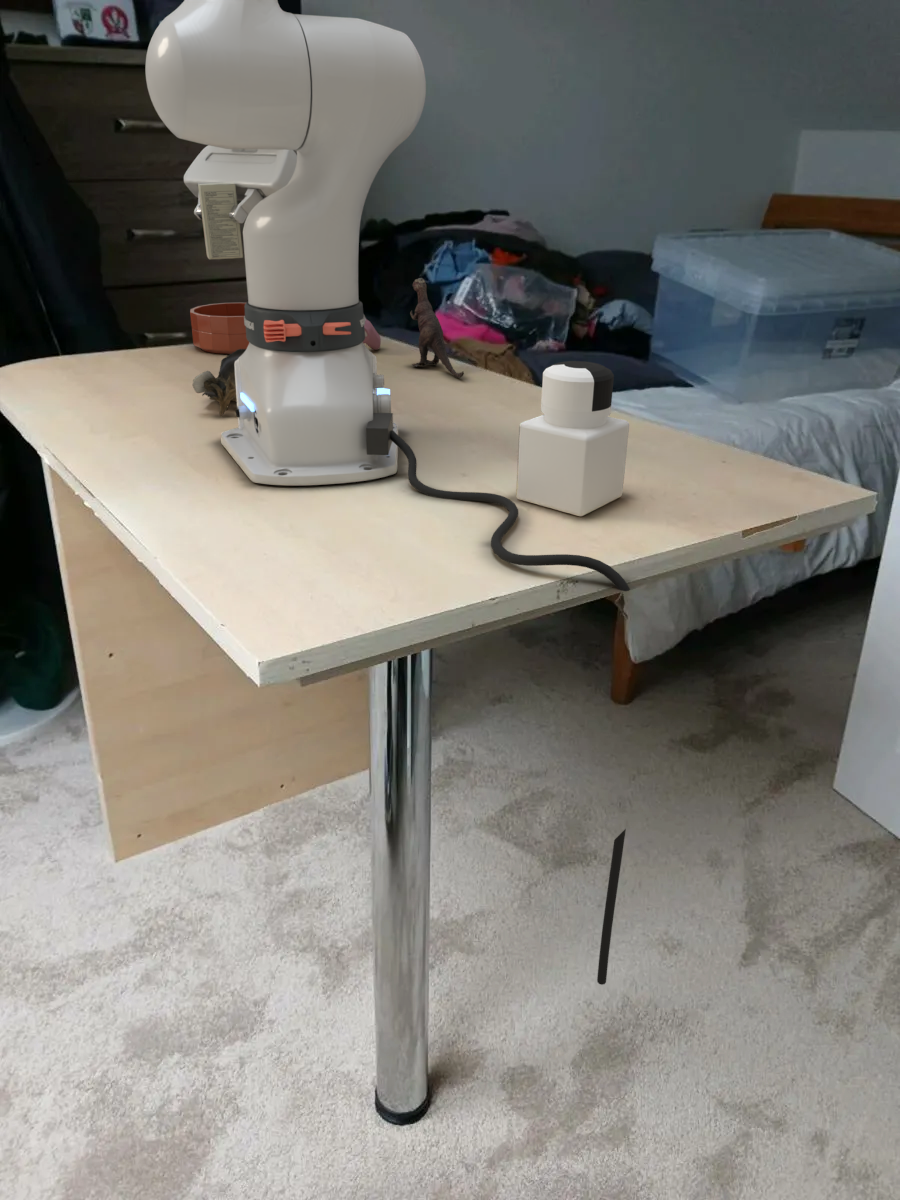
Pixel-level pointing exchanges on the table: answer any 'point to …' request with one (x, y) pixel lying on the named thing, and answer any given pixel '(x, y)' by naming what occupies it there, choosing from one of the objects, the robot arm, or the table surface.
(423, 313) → the dinosaur model
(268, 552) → the table surface
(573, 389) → the medicine bottle
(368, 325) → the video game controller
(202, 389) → the eagle figurine
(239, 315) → the bowl
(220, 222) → the printed carton
